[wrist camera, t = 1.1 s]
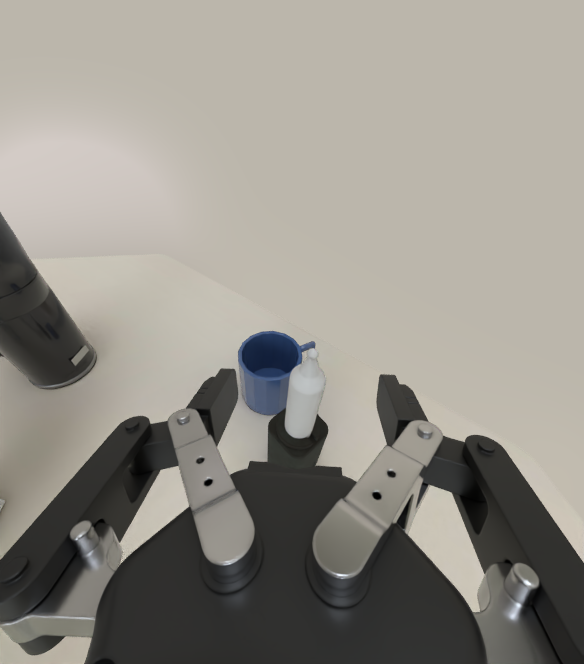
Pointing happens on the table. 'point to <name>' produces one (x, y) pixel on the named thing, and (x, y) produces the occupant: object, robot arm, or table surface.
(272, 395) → the mug
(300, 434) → the candle
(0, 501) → the syrup box
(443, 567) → the table surface
